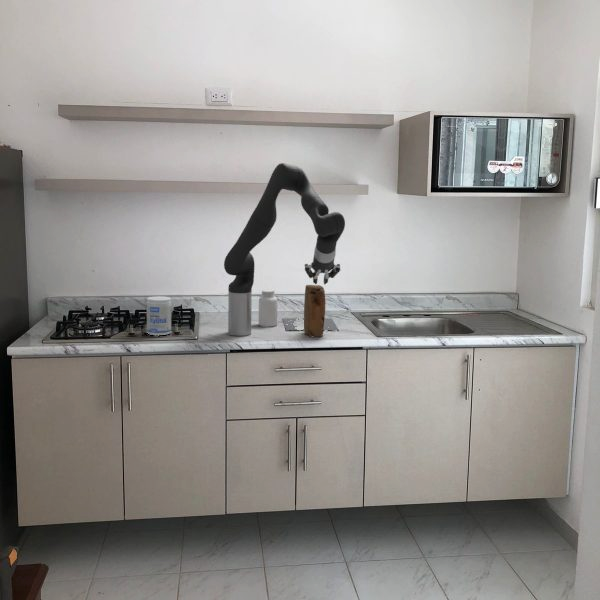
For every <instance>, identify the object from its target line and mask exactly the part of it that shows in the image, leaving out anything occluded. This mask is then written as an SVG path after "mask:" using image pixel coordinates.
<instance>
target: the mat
mask: <svg viewBox="0 0 600 600" xmlns="http://www.w3.org/2000/svg"><path fill="white" fill-rule="evenodd" d="M296 319H297V317H293V318H292V317H291V318H289V317H287V318H286V317H285V318H284V317H283V319H282V322H283V324H284V325H285V326H284V328H286V329H285V332H290V331H289V330H297V329H295V327H297V326H294V325H293V323H294V321H296ZM302 319H303V320H304V317H303V318H302ZM290 320H292V321H290ZM298 320H299V317H298ZM288 321H289V322H288ZM291 323H292V324H291ZM286 324H288V325H286ZM328 327H329V328H328ZM303 330H304V329H303ZM324 330H337V331H336V332H340V329H339V328H338V326H337V324H336V322H335V321H334V320H333V318H332V317H330V318H327V317H325V319H324Z"/></svg>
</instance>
